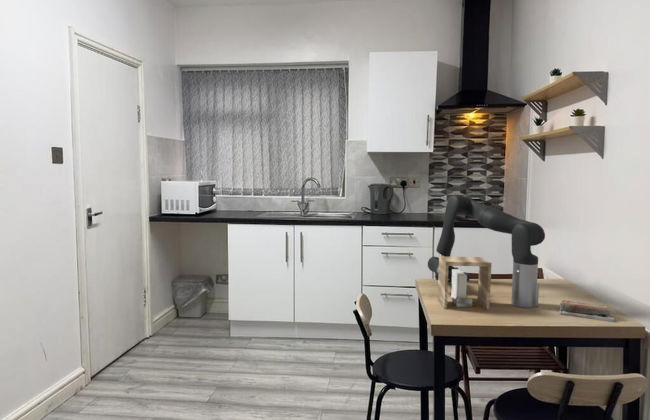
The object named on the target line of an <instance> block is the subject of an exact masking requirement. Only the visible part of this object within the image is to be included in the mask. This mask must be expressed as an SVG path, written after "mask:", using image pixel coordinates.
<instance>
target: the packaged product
mask: <svg viewBox="0 0 650 420" xmlns="http://www.w3.org/2000/svg"><path fill="white" fill-rule="evenodd" d="M559 305H560V306H559V313H558V314H559V315H560V316H564V317H565V316H566V317H573V318H579V319H587V320H592V321H593V320H595V321H601V322H608V323H615V322H614V321H615V317H614V313H612V312H611V307H610V306H607V305H600V304H593V303H588V302H587V303H585V302H579V301H571V300H565V299H563V300H561V302H560V304H559Z"/></svg>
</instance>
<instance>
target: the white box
mask: <svg viewBox="0 0 650 420" xmlns="http://www.w3.org/2000/svg"><path fill="white" fill-rule="evenodd" d="M463 272H464V271H462V270H460V269H457V268H455V269H452V282H451V286H450V287H451V290H450V291H451V292H450V298H451V297H454V298H455V299H456V298H467V288H468V287H467V286H468V285H467V283H468V281H467V275H466V274H465V273H466V272H465V273H463Z"/></svg>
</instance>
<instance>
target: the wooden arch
mask: <svg viewBox="0 0 650 420" xmlns="http://www.w3.org/2000/svg"><path fill="white" fill-rule="evenodd" d="M438 258H439V274H438V280H437V286H438V287H437V302H438V303H439V305H441V307H442V308H443V309H444V310H447V309H448V288H449V282H448V266H453V267H478V283H477V285H478V286H477V290H478V291H477V303H478V304H480V305H481V306H482V307H483V308H484V309H485V310H487V311H488V310H489V311H490V308H491V307H490V305H491V288H492V287H491V282H492V262H491V261H489V260H488V259H486V258H484V257H482V256H450V257H445V256H443V255H441V256H438ZM450 298H451V299H450V301H451V302H452V304H453V305H454V306H456V307H458V308H472V307H473V299H472V298H471V297H466V298H456V299H455V298H454V297H451V296H450Z"/></svg>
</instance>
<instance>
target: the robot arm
mask: <svg viewBox="0 0 650 420" xmlns="http://www.w3.org/2000/svg"><path fill="white" fill-rule="evenodd" d="M445 205H446V207H445V211H444V219H443V223H442V230H441V233H440V234H441V235H440V238H439V240H438V242H437V243H438V244H437V247H436V252H437V253H438V254H439V255H441V256H445V257H451V256H452V255H451V254H452V250H453V247H454V244H455V243H456V242H455V240H456V236H455V235H456V234H455V228H454V225H455V224H454V223H455V218H456V216H457V215H458V216H466V217H470V218H473V219H475V220H477V223H478V224H479V225H481V226H483V227H484V228H487V229H488V230H491V231H494V232H498V233H503V234H509V235H511V255H512V259H513V260H512V261H513V262H512V279H511V280H512V281H511V298H510V299H511V305H513V306H516V307H519V308H527V309H528V308H529V309H530V308H538V307H539V293H540V292H539V291H540V283H539V282H538V273H539V272H538V270H539V257H538V255H535V254H533V253H532V251H531V250H532V249H531V246H537V245H539V244H542V243H543V242H544V241H545V239H546V233H545V230H544V229H543V226H541V225H539V224H538V223H536V222H533V221H528V220H524V219H521V218H519V217H516V216H514V215H511V214H509V213H507V212H504V211H503V210H500V209H497V208H495V207H493V206H489V205H487V204H482V203H480V202H478V201H476V200H474V199H472V198H471V197H469V196H466V195H461V194H460V195H459V194H452V195H450V196H449V198H448V199H447V202H446V204H445ZM427 268H428V269H429V270H430V272H433V273H434V278H435V280H436V281H438V274H439V256H431V257H430V258H429V259H428V262H427ZM452 269H456V268H455V266H448V283H452ZM462 272H463V273H465V274H466V275H467V282H469V281H470V274H469V273H467V272H465V271H462Z"/></svg>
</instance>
